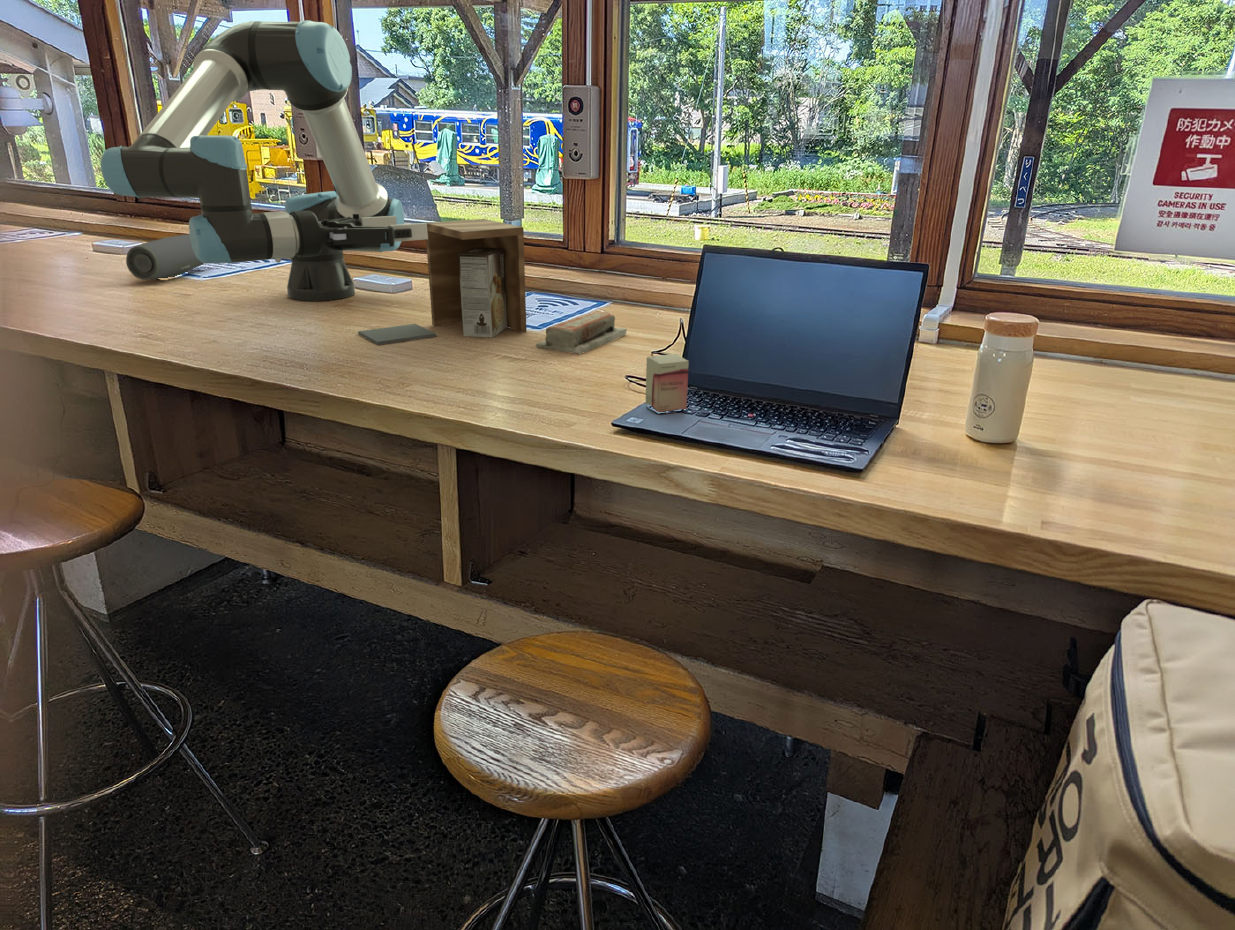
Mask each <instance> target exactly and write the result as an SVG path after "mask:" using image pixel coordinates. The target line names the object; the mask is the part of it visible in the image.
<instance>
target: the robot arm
mask: <svg viewBox="0 0 1235 930" xmlns="http://www.w3.org/2000/svg"><path fill="white" fill-rule="evenodd" d="M350 56H351V54H350V52H349V49H348V47H347V44H346V42H345V40H344V38H343V37H342V35H341V33H340V32H339V31H338V30H337V28H335V26H332V25H330V24H328V23H327V22H323V21H312V20H310V19H309V20H301V21H259V20H257V21H256V20H254V21H253V20H250V21H246V22H242V23H239V24H236V25H234V26H231V27H230V28H227V29H226V30H224V31H223V32H220V33H219V34H218V35H216V36H215V37H213V39H211V40H210V41H209V42H208V43H206V45H204V47H202V48H201V49H200V50H199V52H198V53H197V54H196V56H195V58H194V59H193V63H192V71H191V72H190V73H189V74H188V76H187V77H186V79H184V81H183V82H182V83H181V85H180V86H179V87H177V89H175V92H174V93H173V94H172V95H171V96H170V97H169V99H168V100H167V101H166V102H165V104H163V106H162V107H161V109H160V110H159V111H158V112H157V114H156V115H155V116H154V117H153V119H152V120H151V121H150V122H149V124H148V125H146V127H145V128H144V130H143V131H142V132H141V133H140V134H139V135H138V136H137V138H136V139H135V140H134V141H133V143H132V144H131V145H130V146H124V145H120V146H114V147H112V146H111V147H109V148H107V149H106V150H104V152H103V154H102V156H101V159H100V172H101V176H102V178H103V180H104V181H105V183H106V185H107V188H108V189H109V190H111V192H112V193H114V194H115V195H118V196H123V197H135V198H137V199H142V198H178V199H182V198H183V199H199V205H200V212H201V214H198V215H196V216H191V217H190V219H189V222H188V230H189V232H188V234H189V235H190V240H191V245H192V248H193V251H194V254H195V256H196V257H197V259H198V260H199V261H201V262H202V263H204V265H206V264H207V265H208V264H234V263H246V262H256V261H268V260H275V261H274V262H275V263H281V261H282V259H291V261H290V262H291V266H290V269H289V275H288V280H287V286H286V290H287V296H288V298H290V299H292V300H298V301H308V302H309V301H310V302H311V301H313V302H314V301H315V300H321V301H332V300H333V301H335V300H340V299H344V298H349V297H352V296H354V295H355V294H356V289H355V283H354V281H353V279H352V277H351V274H350V272H349V269H348V267H347V265H346V263H345V260H344V252H345V251H347V252H348V251H349V252H350V251H351V252H372V253H373V252H374V253H383V252H394V251H397V250H398V248H399V247H400V246H401V244H402V242H409V241H411V242H412V241H423V240H426V239H428V232H427V223H428V222H422V223H406V224H405V213H404V207H403V203H402V202H401V200H400V199H397V198H394V197H393V198H389V197H390V196H389V195H388V191H387V190H386V189H385V187H384V186H383V185H382V184H380V183H378V182H376V178H375V177H374V175H373V174H374V173H373V171H372V169H371V166H370V163H369V160H368V159H367V155H366V153H365V150H364V147H363V145H362V142H361V139H360V137H359V133H358V131H357V129H356V126H355V124H354V120H353V117H352V115H351V113H350V110H349V107H348V104H347V102H346V99H345V97H346V96H347V93H348V90H349V87H350V85H351V82H352V77H353V68H352V64H351V62H350V61H351V57H350ZM260 90H261V91H262V90H263V91H266V90H267V91H284V93H285V95H286V97H287V99H288V102H289V104H290V105H291V106H292V107H293V108H295V109H296V110H297V111H300V112H302V114H303V117H304V119H305V121H306V124H307V126H308V128H309V131H310V134H311V136H312V137H313V140H314V142H315V144H316V147H317V149H318V152H319V154H320V156H321V158H322V161H323V163H324V166H325V167H326V170H327V173H328V175H329V177H330V179H331V182H332V184H333V187H334V190H332V191H331V190H328V191H321V192H313V193H306V194H305V193H304V194H300V195H299V194H298V195H293V196H289V197H288V198H286V200H285V202H284V211H268V212H266V211H265V212H264V211H263V212H259V213H253V208H252V201H251V193H250V192H251V191H250V186H249V178H248V177H249V175H248V170H247V169H248V164H247V163H246V158H245V153H244V147H243V144H242V141H241V140H240V139H239V138H238V137H237V136H236V135H235V136H234V135H221V134H220V135H212V134H211V135H210V134H209V133H210V132H211V131H212V130H213V128H214V127H215V125H216V124H217V122H218V121H219V120H220V119H221V117H222V116H223V114H224V113H225V112H226V110H227V109H228V108H229V107H230V105H231V103H232V102H238V101H239V100H241V99H243V98H244V96H245V95H246V94H247V93H249V92H252V91H253V92H254V91H260ZM343 251H344V252H343Z"/></svg>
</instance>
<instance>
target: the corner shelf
mask: <svg viewBox="0 0 1235 930" xmlns="http://www.w3.org/2000/svg"><path fill="white" fill-rule="evenodd" d="M426 223H427V232H428V239H425V240H426V241H425V242H426V257H427V269H428V281H429V298H430V309H431V310H430V313H431V314H430V315H431V323H432V324H431V325H432V326H434V327H436V326H444V325H450V324H451V325H452V324H457V323H458V324H459V323H463V321H462V304H461V288H460V272H459V257H458V254H460V253H462V252H465V251H467V250H469V249H472V248H474V247H485V248H504V262H505V284H506V307H507V328H509V329H511V330H513V331H516V332H519V333H521V334H522V333H527V306H526V303H527V302H526V298H527V297H526V272H525V271H526V270H525V269H526V267H525V266H526V265H525V238H524V237H525V235H524V227H523V226H519V225H514V224H511V223H506V222H505V223H504V222H500V221H495V220H491V219H487V218H486V219H485V218H477V219H463V220H461V219H460V220H448V221H445V220H444V221H435V222H434V221H432V222H426Z"/></svg>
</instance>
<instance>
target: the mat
mask: <svg viewBox="0 0 1235 930" xmlns="http://www.w3.org/2000/svg"><path fill="white" fill-rule="evenodd" d="M357 334H358V335H359V336H360V337H363V338H365V340H368V341H369V342H372V343H374V344H375V345H378V346H381V345H387V344H395V343H401V342H408V341H414V340H420V339H429V338H434V337H435V338H436V337H437V336H438V335H437V333H436V332H434V331H432V330H430V329H428V328H427V327H424V326H421V325H420V324H417V323H410V324H409V323H408V324H402V325H395V326H389V327H388V326H387V327H382V328H380V327H379V328H373V329H366V330H365V329H364V330H360V331H358V332H357Z"/></svg>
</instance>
